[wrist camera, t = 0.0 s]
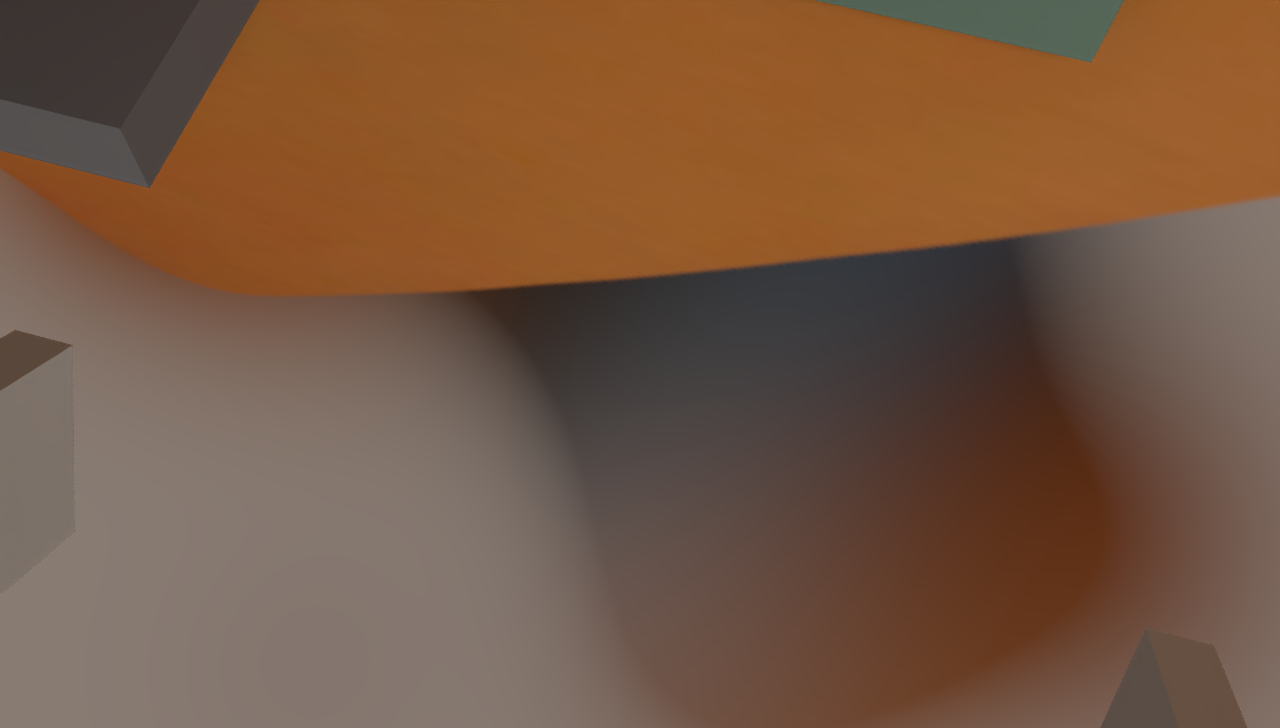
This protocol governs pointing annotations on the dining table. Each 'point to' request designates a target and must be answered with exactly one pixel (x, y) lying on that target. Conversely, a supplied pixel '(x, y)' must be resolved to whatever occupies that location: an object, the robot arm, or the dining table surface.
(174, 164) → the dining table surface
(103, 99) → the open box
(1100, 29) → the green mat
